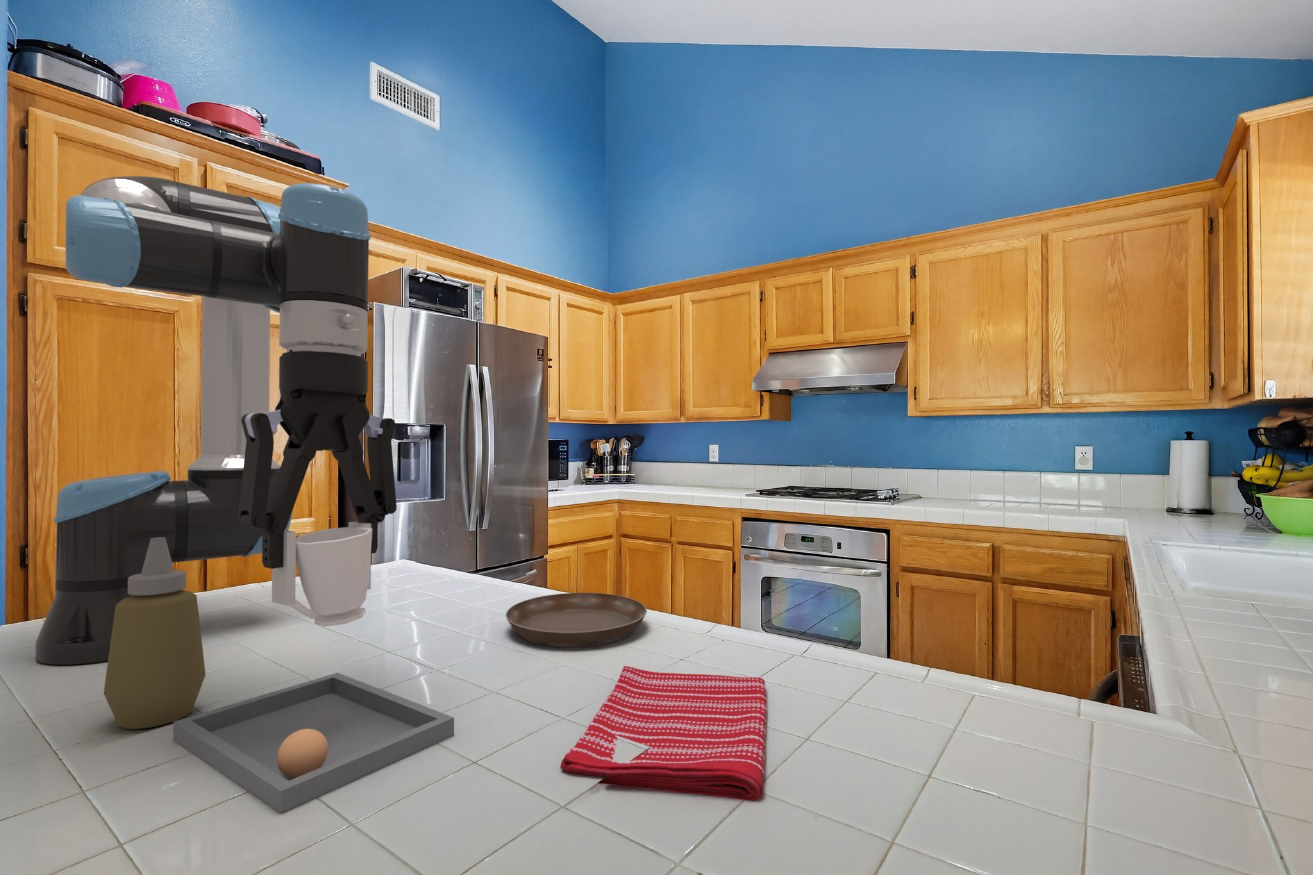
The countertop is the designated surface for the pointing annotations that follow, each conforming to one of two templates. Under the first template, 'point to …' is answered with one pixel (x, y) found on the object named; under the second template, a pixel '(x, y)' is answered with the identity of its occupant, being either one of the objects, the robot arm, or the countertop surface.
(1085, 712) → the countertop surface
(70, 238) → the robot arm
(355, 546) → the cup
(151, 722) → the squeeze bottle
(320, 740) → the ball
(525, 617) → the plant saucer
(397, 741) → the tray
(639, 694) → the dish towel
